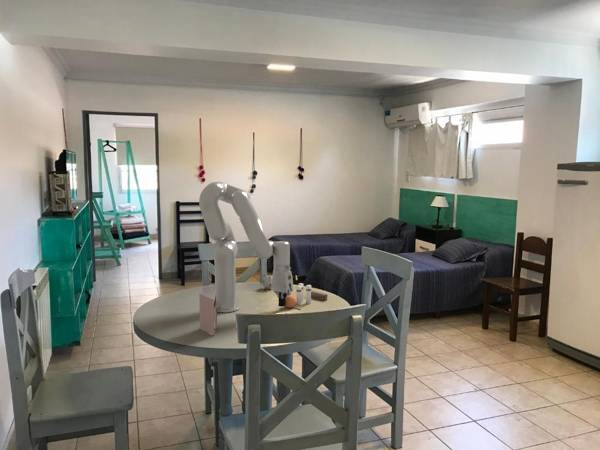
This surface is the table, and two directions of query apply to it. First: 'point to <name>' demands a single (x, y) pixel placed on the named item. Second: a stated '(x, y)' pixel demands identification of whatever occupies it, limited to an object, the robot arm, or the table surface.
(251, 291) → the table surface
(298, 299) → the front pin
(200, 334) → the table surface
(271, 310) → the table surface
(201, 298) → the greeting card
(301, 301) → the pin
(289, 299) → the ball
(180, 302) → the table surface
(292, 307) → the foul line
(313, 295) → the backstop wall
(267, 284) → the game die
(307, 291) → the pin
